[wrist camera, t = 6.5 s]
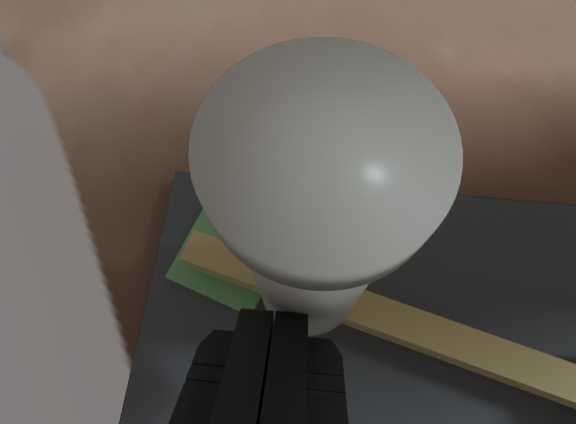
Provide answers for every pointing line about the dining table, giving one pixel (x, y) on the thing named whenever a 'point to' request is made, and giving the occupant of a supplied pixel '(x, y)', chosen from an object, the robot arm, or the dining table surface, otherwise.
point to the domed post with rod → (340, 197)
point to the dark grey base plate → (397, 286)
